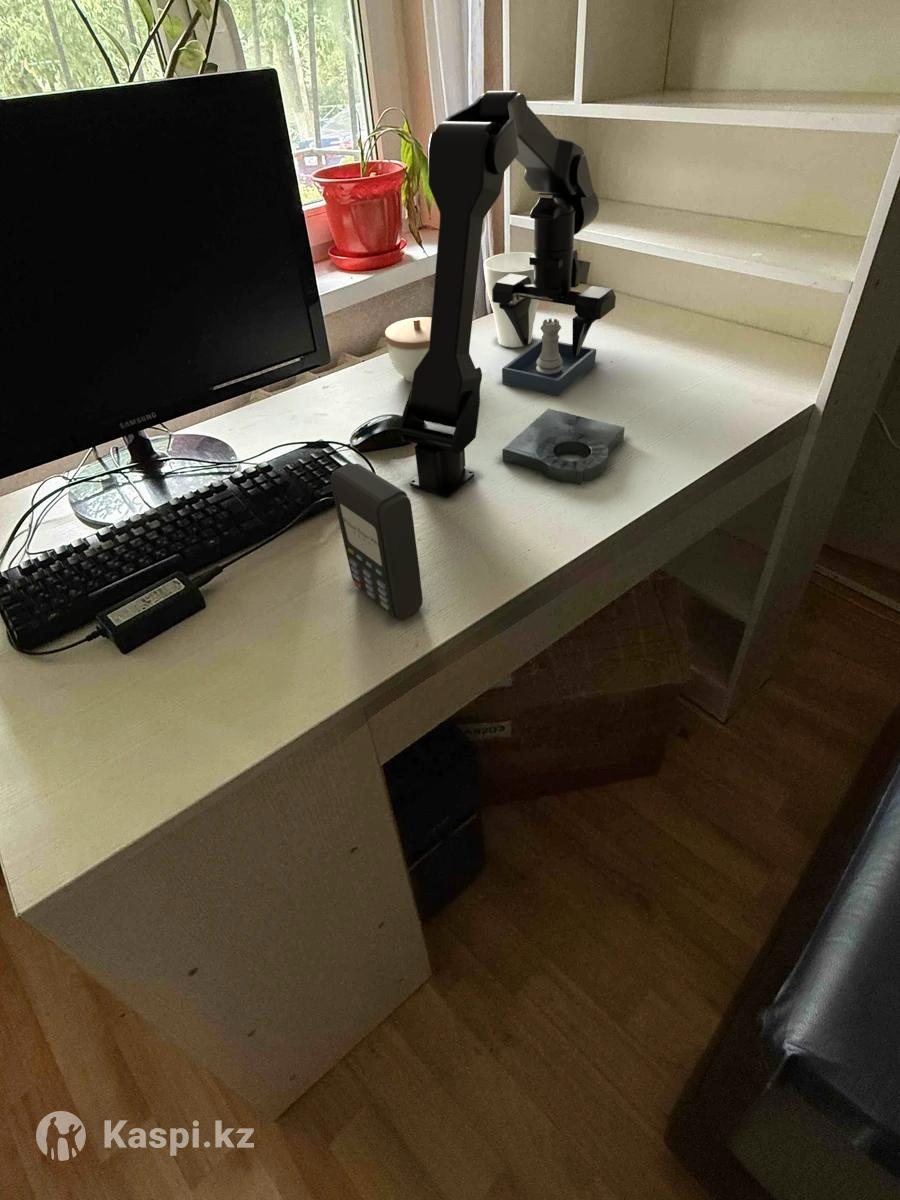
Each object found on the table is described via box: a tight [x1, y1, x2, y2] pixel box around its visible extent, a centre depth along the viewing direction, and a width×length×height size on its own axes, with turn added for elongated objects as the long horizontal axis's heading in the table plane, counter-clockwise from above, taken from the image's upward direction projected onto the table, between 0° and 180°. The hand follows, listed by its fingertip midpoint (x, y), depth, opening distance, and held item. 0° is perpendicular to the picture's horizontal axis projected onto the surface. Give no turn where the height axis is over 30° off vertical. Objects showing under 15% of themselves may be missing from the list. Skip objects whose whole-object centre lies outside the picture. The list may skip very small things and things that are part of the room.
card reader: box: [330, 462, 423, 620], centre depth 70 cm, size 9×4×15 cm, turn 42°
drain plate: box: [501, 408, 626, 486], centre depth 94 cm, size 14×13×2 cm
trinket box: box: [384, 316, 432, 383], centre depth 113 cm, size 11×11×9 cm
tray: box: [501, 338, 597, 397], centre depth 112 cm, size 13×10×3 cm
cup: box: [483, 251, 540, 349], centre depth 119 cm, size 10×10×14 cm
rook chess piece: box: [536, 318, 563, 375], centre depth 110 cm, size 4×4×8 cm
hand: (550, 350), depth 111 cm, fingers open, 9 cm apart
